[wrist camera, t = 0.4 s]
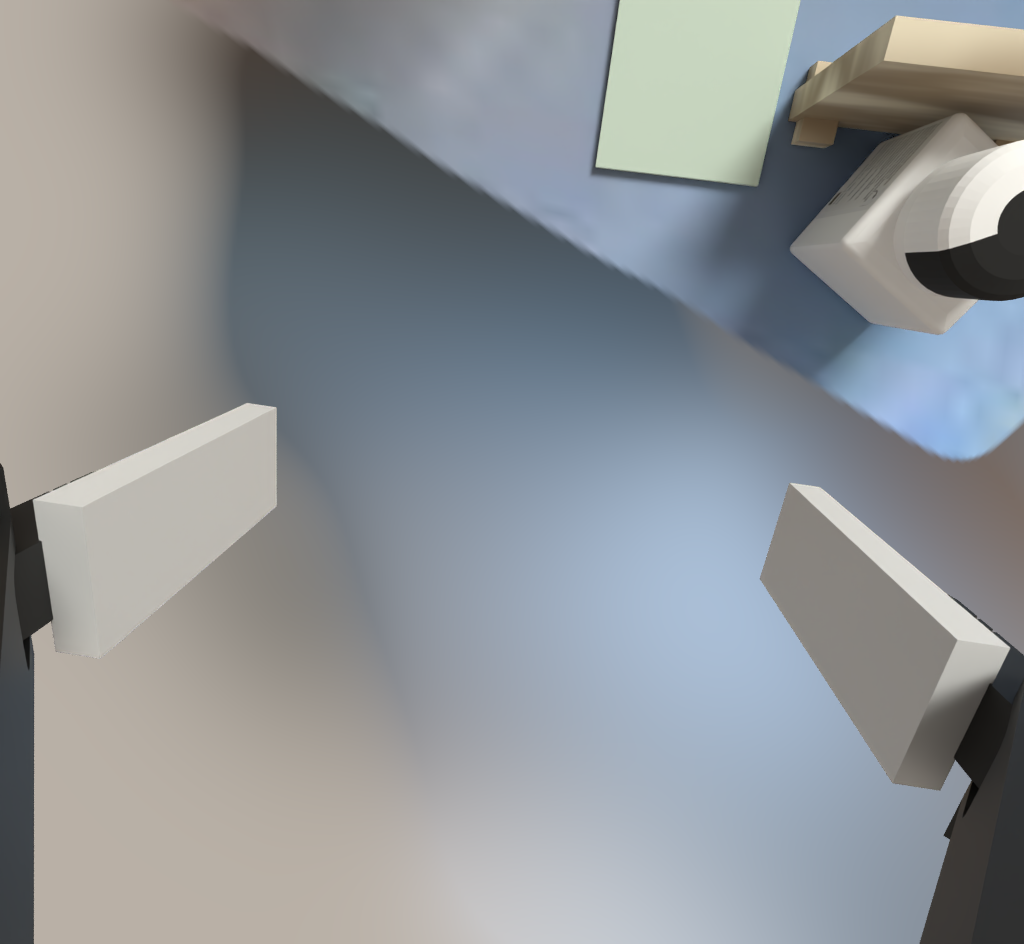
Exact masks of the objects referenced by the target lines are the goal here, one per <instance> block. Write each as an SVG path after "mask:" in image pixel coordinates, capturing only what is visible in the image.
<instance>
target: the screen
mask: <svg viewBox="0 0 1024 944" xmlns="http://www.w3.org/2000/svg"><path fill="white" fill-rule="evenodd" d="M956 113H964V114H966V115H967V116H968V117H969V118H970V119H972V120H973V121H974V122H975V123H976V124H977V125H978V126H979V127H980V128H981V129H982V130H983V131H984V132H985V133H986V134H987V135H988V136H989V137H990V138H991V139H992V140H993V141H994V142H995V143H996V144H997V145H998V146H1002V145H1005V144H1009V143H1013V142H1016V141H1021V140H1024V30H1021V29H1012V28H1003V27H994V26H985V25H976V24H967V23H958V22H949V21H940V20H931V19H922V18H913V17H904V16H895V17H894V18H892V19H891V20H890V21H888V22H887V23H886V24H884V25H883V26H881V27H880V28H879V29H877V30H876V31H875V32H873V33H872V34H871V35H869V36H868V37H867V38H865V39H864V40H863V41H861V42H860V43H859V44H857V45H856V46H855V47H853V48H852V49H850V50H849V51H848V52H846V53H845V54H844V55H842V56H841V57H840V58H838V59H837V60H836V61H834V62H833V63H832V62H823V61H817V62H816V63H815V64H814V65H812V66H811V67H810V68H809V72H808V76H807V80H806V83H805V84H803V85H802V86H801V87H799V88H798V89H797V90H795V94H794V98H793V102H792V107H791V111H790V115H789V119H788V121H792V122H796V126H795V130H794V134H793V139H792V143H791V145H800V146H808V147H817V148H826V147H828V146H831V145H833V143H834V139H835V135H836V131H837V127H844V128H852V129H861V130H869V131H878V132H887V133H895V134H904V133H907V132H909V131H912V130H915V129H917V128H920V127H922V126H925V125H928V124H930V123H933V122H935V121H938V120H940V119H943V118H946V117H948V116H951V115H953V114H956Z"/></svg>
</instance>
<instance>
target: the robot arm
mask: <svg viewBox="0 0 1024 944" xmlns="http://www.w3.org/2000/svg"><path fill="white" fill-rule="evenodd" d="M276 415H277V414H276V407H269V406H263V405H256V404H249V403H247V404H245V405H242V406H240V407H238V408H236V409H233V410H231V411H229V412H227V413H225V414H222V415H220V416H218V417H215V418H213V419H211V420H209V421H207V422H204V423H202V424H200V425H198V426H196V427H193V428H191V429H189V430H187V431H185V432H182V433H180V434H178V435H176V436H173V437H171V438H169V439H167V440H164V441H162V442H160V443H158V444H155V445H153V446H151V447H149V448H147V449H145V450H142V451H140V452H138V453H136V454H133V455H131V456H129V457H127V458H124V459H122V460H120V461H118V462H116V463H113V464H111V465H109V466H107V467H104V468H102V469H100V470H98V471H95V472H91V473H89V474H87V475H84V476H82V477H80V478H78V479H75V480H73V481H71V482H70V483H69V484H64V485H62V486H60V487H58V488H55V489H54V490H53V491H51V492H47V493H44V494H42V495H40V496H38V497H35V498H33V499H31V500H29V501H26V502H24V503H22V504H20V505H17V506H15V507H13V508H11V509H10V507H9V500H8V494H7V488H6V482H5V476H4V470H3V467H2V465H1V464H0V944H34V651H33V645H32V639H31V635H32V634H33V633H35V632H36V631H38V630H39V629H40V628H42V627H43V626H45V625H46V624H47V623H49V622H50V621H51V624H52V630H53V637H54V644H55V650H56V652H60V653H68V654H73V655H79V656H86V657H92V658H99V659H101V658H102V657H103V656H104V655H105V654H107V653H108V652H109V651H110V650H111V649H112V648H114V647H115V646H116V645H117V644H118V643H119V642H121V640H123V639H124V638H125V637H126V636H127V635H128V634H130V633H131V632H132V631H133V630H134V629H135V628H137V627H138V626H139V625H140V624H141V623H142V622H143V621H145V620H146V619H147V618H148V617H149V616H150V615H152V614H153V613H154V612H155V611H156V610H157V609H158V608H160V607H161V606H162V605H163V604H164V603H165V602H167V601H168V600H169V599H170V598H171V597H172V596H174V595H175V594H176V593H177V592H178V591H179V590H180V589H182V588H183V587H184V586H185V585H186V584H187V583H188V582H189V581H191V580H192V579H193V578H194V577H195V576H197V575H198V574H199V573H200V572H201V571H202V570H203V569H205V568H206V567H207V566H208V565H209V564H210V563H212V562H213V561H214V560H215V559H216V558H217V557H219V556H220V555H221V554H222V553H223V552H224V551H225V550H227V549H228V548H229V547H230V546H231V545H232V544H234V543H235V542H236V541H237V540H238V539H239V538H240V537H242V536H243V535H244V534H245V533H246V532H247V531H248V530H250V529H251V528H252V527H253V526H254V525H255V524H257V523H258V522H259V521H260V520H261V519H262V518H264V516H266V515H267V514H268V513H269V512H270V511H272V510H273V509H274V508H275V507H276V506H277V454H276V453H277V450H276V449H277V445H276V444H277V442H276V441H277V427H276V426H277V423H276V422H277V421H276V419H277V418H276V417H277V416H276ZM760 580H761V581H762V583H763V584H764V586H765V587H766V589H767V591H768V592H769V594H770V595H771V597H772V598H773V600H774V601H775V603H776V604H777V606H778V607H779V609H780V611H781V612H782V614H783V615H784V617H785V618H786V620H787V621H788V623H789V624H790V626H791V628H792V629H793V630H794V632H795V634H796V635H797V637H798V638H799V640H800V641H801V643H802V644H803V646H804V648H805V649H806V651H807V652H808V653H809V655H810V657H811V658H812V660H813V661H814V663H815V664H816V666H817V668H818V669H819V671H820V672H821V674H822V675H823V677H824V678H825V680H826V681H827V683H828V685H829V686H830V688H831V689H832V690H833V692H834V693H835V695H836V697H837V698H838V700H839V701H840V703H841V704H842V706H843V708H844V709H845V711H846V712H847V714H848V715H849V717H850V718H851V720H852V721H853V723H854V725H855V726H856V727H857V729H858V731H859V732H860V734H861V735H862V737H863V738H864V740H865V742H866V743H867V745H868V746H869V748H870V749H871V751H872V752H873V754H874V755H875V757H876V758H877V760H878V762H879V763H880V765H881V766H882V768H883V769H884V771H885V772H886V774H887V775H888V777H889V778H890V780H891V782H892V783H895V784H902V785H908V786H914V787H921V788H927V789H934V790H941V788H942V786H943V784H944V782H945V780H946V778H947V776H948V774H949V772H950V769H951V767H952V766H953V763H954V761H955V760H956V761H957V762H958V764H959V765H960V766H961V767H962V768H963V770H964V771H965V772H966V773H967V775H968V776H969V777H970V778H971V780H972V781H971V783H970V785H969V787H968V789H967V791H966V793H965V794H964V797H963V798H962V800H961V802H960V804H959V806H958V808H957V810H956V812H955V814H954V816H953V818H952V820H951V822H950V824H949V826H948V828H947V830H946V832H945V834H944V836H945V837H947V838H949V839H950V842H949V846H948V848H947V852H946V855H945V859H944V862H943V865H942V869H941V872H940V876H939V879H938V883H937V886H936V889H935V893H934V896H933V899H932V903H931V907H930V910H929V913H928V916H927V920H926V923H925V927H924V931H923V934H922V937H921V940H920V944H1024V655H1023V654H1021V653H1020V652H1019V651H1018V650H1017V649H1016V648H1014V647H1013V646H1012V645H1011V644H1010V643H1008V642H1007V641H1006V640H1005V639H1004V638H1003V637H1001V636H1000V635H999V634H998V633H995V632H992V630H993V629H992V628H991V627H989V626H988V625H987V624H986V623H985V622H983V621H982V620H981V619H977V616H976V615H975V614H974V613H973V612H971V611H970V610H969V609H968V608H967V607H965V606H964V605H963V604H962V603H961V602H959V601H958V600H957V599H955V598H953V597H951V596H950V595H948V594H946V593H945V592H944V591H942V590H941V589H940V588H939V587H938V586H936V585H935V584H934V583H933V582H932V581H930V580H929V579H928V578H927V577H926V576H925V575H923V574H922V573H921V572H920V571H919V570H917V569H916V568H915V567H914V566H913V565H911V564H910V563H909V562H908V561H907V560H906V559H904V558H903V557H902V556H901V555H900V554H899V553H897V552H896V551H895V550H894V549H893V548H891V547H890V546H889V545H888V544H887V543H886V542H884V541H883V540H882V539H881V538H880V537H878V536H877V535H876V534H875V533H874V532H872V531H871V530H870V529H869V528H868V527H867V526H865V525H864V524H863V523H862V522H861V521H859V520H858V519H857V518H856V517H855V516H854V515H852V514H851V513H850V512H849V511H848V510H846V509H845V508H844V507H843V506H842V505H840V504H839V503H838V502H837V501H836V500H835V499H833V498H832V497H831V496H830V495H828V494H827V493H826V492H825V491H824V490H823V489H822V488H820V487H815V486H807V485H801V484H794V483H789V486H788V489H787V493H786V496H785V499H784V502H783V505H782V509H781V512H780V515H779V518H778V522H777V525H776V528H775V531H774V535H773V538H772V541H771V545H770V547H769V551H768V554H767V557H766V561H765V564H764V567H763V570H762V573H761V577H760Z"/></svg>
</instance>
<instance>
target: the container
mask: <svg viewBox="0 0 1024 944" xmlns="http://www.w3.org/2000/svg"><path fill="white" fill-rule="evenodd" d="M790 251H791V253H792V254H793V255H794V256H795V257H797V258H798V259H799V260H800V261H801V262H802V263H803V264H804V265H806V266H807V267H808V268H809V269H810V270H811V271H812V272H813V273H815V274H816V275H817V276H818V277H819V278H820V279H821V280H822V281H824V282H825V283H826V284H827V285H828V286H829V287H830V288H831V289H833V290H834V291H835V292H836V293H837V294H838V295H839V296H840V297H842V298H843V299H844V300H845V301H846V302H847V303H848V304H849V305H851V306H852V307H853V308H854V309H855V310H856V311H857V312H858V313H860V314H861V315H862V316H863V317H864V318H865V319H866V320H867V321H869V322H870V323H872V324H878V325H883V326H889V327H895V328H901V329H907V330H912V331H918V332H924V333H930V334H935V335H939V334H943V333H945V332H946V331H947V330H948V329H949V328H951V327H952V326H953V325H954V324H955V323H956V322H957V321H958V320H959V319H960V318H961V317H962V316H963V315H964V314H965V313H966V312H967V311H968V310H969V309H970V308H971V307H972V306H973V305H974V304H975V303H976V302H977V301H978V300H990V301H1005V300H1013V299H1017V298H1022V297H1024V140H1021V141H1016V142H1013V143H1009V144H1005V145H1002V146H998V145H997V144H996V143H995V142H994V141H993V140H992V139H991V138H990V137H989V136H988V135H987V134H986V133H985V132H984V131H983V130H982V129H981V128H980V127H979V126H978V125H977V124H976V123H975V122H974V121H973V120H972V119H970V118H969V117H968V116H967V115H966V114H964V113H956V114H953V115H951V116H948V117H946V118H943V119H940V120H938V121H935V122H933V123H930V124H928V125H925V126H922V127H920V128H917V129H915V130H912V131H909V132H907V133H904V134H902V135H899V136H897V137H894V138H891V139H889V140H886V141H884V142H882V143H880V144H879V145H878V146H877V147H876V148H875V149H874V151H873V152H872V153H871V154H870V155H869V156H868V158H867V159H866V160H865V161H864V162H863V163H862V164H861V166H860V167H859V168H858V169H857V170H856V171H855V172H854V174H853V175H852V176H851V177H850V178H849V179H848V180H847V182H846V183H845V184H844V185H843V186H842V187H841V188H840V190H839V191H838V192H837V193H836V194H835V195H834V196H833V198H832V199H831V200H830V201H829V202H828V203H827V204H826V206H825V207H824V208H823V209H822V210H821V211H820V212H819V214H818V215H817V216H816V217H815V218H814V219H813V221H812V222H811V223H810V224H809V225H808V226H807V227H806V229H805V230H804V231H803V232H802V233H801V234H800V235H799V237H798V238H797V239H796V240H795V241H794V242H793V243H792V245H791V246H790Z"/></svg>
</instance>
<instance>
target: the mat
mask: <svg viewBox="0 0 1024 944" xmlns="http://www.w3.org/2000/svg"><path fill="white" fill-rule="evenodd" d="M800 1H801V0H620V2H619V9H618V15H617V22H616V29H615V36H614V43H613V50H612V56H611V63H610V70H609V77H608V84H607V91H606V97H605V104H604V111H603V118H602V125H601V132H600V138H599V145H598V152H597V159H596V166H595V168H602V169H610V170H619V171H627V172H636V173H644V174H653V175H661V176H669V177H678V178H686V179H695V180H703V181H711V182H720V183H728V184H737V185H745V186H754V187H757V186H758V183H759V179H760V175H761V170H762V166H763V162H764V157H765V153H766V149H767V144H768V140H769V136H770V131H771V127H772V123H773V118H774V114H775V109H776V105H777V101H778V96H779V92H780V88H781V83H782V79H783V75H784V70H785V66H786V62H787V57H788V53H789V48H790V44H791V40H792V35H793V31H794V27H795V22H796V18H797V14H798V9H799V5H800Z"/></svg>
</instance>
